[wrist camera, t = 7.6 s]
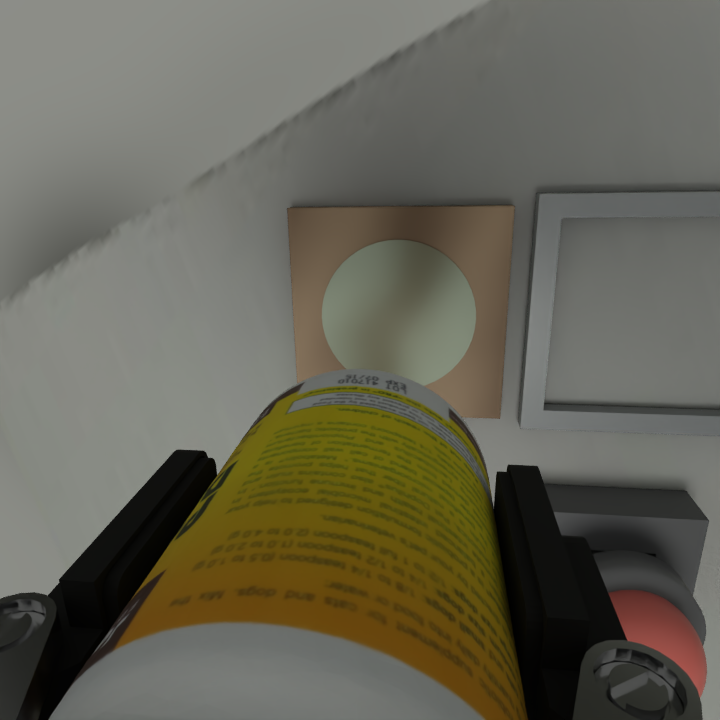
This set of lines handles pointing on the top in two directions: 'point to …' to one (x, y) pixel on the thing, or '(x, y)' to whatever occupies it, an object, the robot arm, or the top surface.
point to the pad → (405, 295)
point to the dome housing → (634, 523)
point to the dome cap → (656, 608)
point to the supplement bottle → (324, 576)
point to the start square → (541, 312)
